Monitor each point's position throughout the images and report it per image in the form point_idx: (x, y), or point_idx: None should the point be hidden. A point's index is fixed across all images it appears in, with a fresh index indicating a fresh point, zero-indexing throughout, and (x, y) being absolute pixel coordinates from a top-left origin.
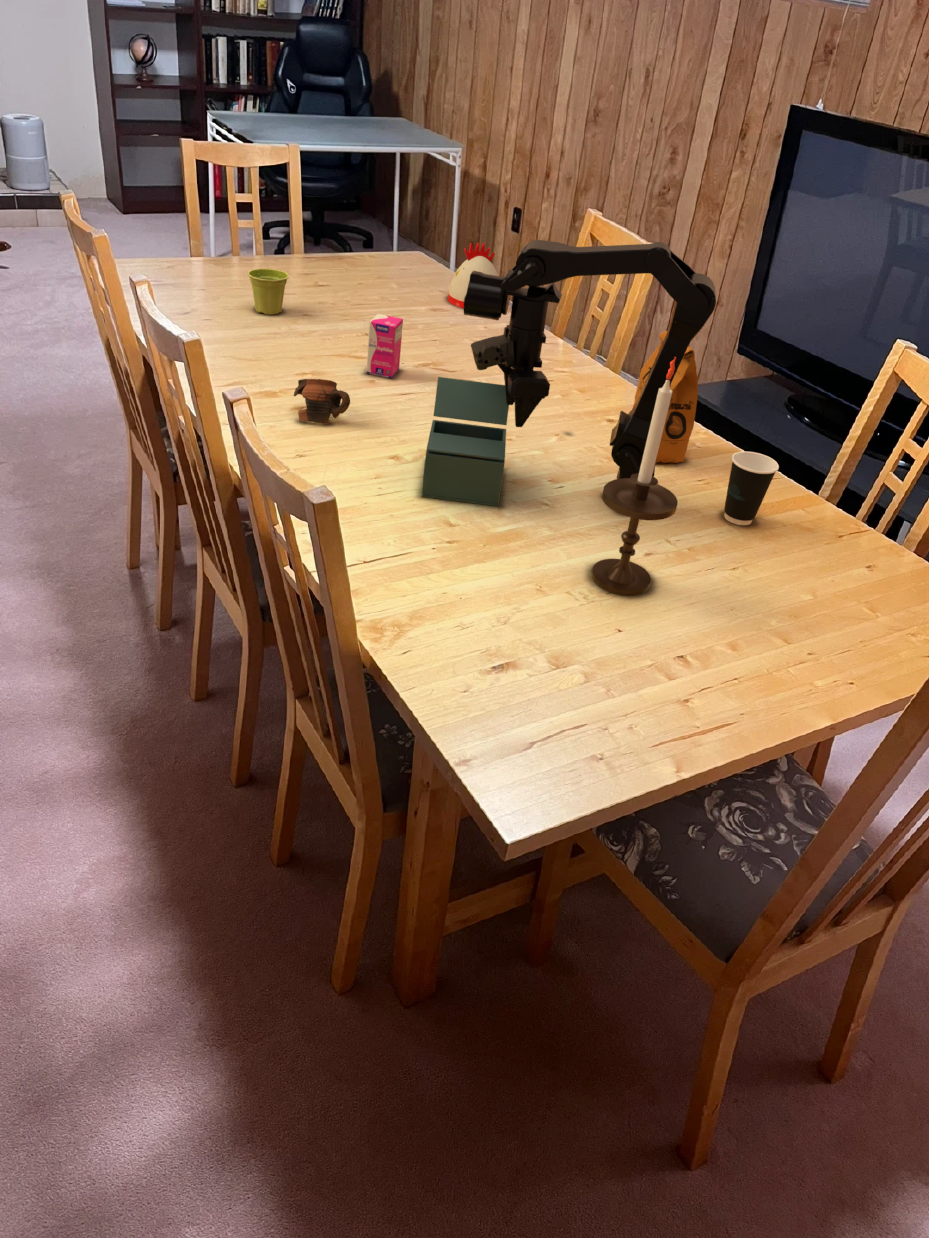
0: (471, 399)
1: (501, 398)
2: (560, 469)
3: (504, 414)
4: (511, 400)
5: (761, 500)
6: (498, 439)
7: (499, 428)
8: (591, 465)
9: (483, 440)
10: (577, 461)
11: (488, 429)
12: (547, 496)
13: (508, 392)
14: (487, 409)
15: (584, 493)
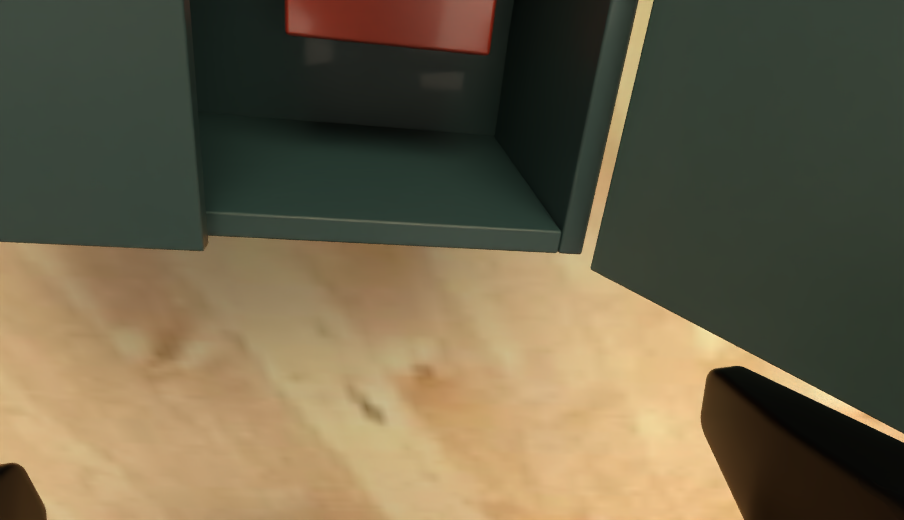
0: None
1: (887, 313)
2: (546, 414)
3: (684, 282)
4: (734, 450)
5: None
6: (543, 171)
7: (582, 199)
8: (594, 514)
9: (129, 10)
10: (627, 473)
11: (587, 94)
12: (257, 357)
13: (831, 497)
14: (777, 101)
15: (335, 488)
